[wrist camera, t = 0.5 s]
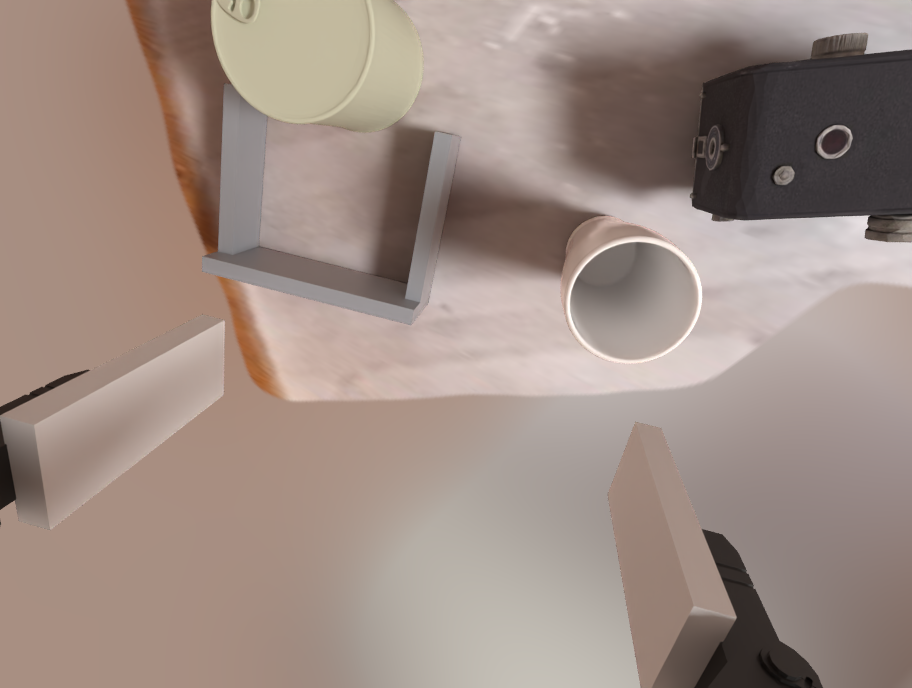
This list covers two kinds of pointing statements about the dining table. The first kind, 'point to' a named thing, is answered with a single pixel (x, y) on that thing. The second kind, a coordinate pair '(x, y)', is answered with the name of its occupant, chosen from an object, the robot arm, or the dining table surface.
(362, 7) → the can
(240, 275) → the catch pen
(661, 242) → the drinking glass
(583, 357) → the dining table surface
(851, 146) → the camera
